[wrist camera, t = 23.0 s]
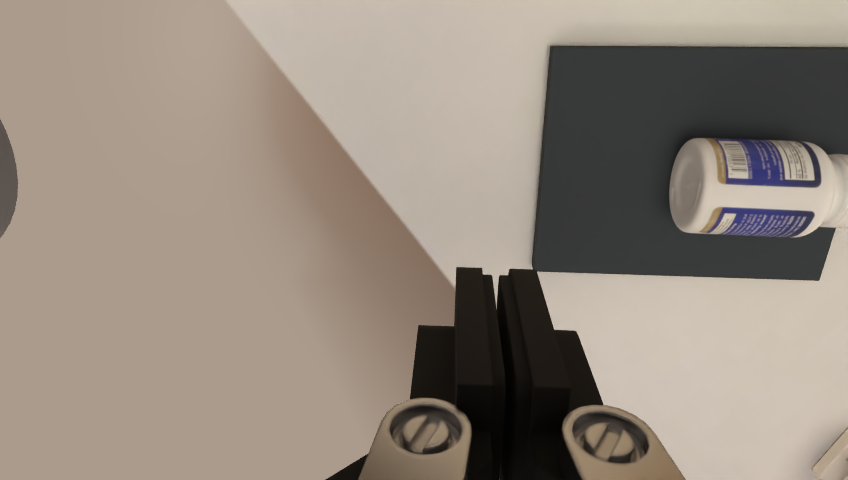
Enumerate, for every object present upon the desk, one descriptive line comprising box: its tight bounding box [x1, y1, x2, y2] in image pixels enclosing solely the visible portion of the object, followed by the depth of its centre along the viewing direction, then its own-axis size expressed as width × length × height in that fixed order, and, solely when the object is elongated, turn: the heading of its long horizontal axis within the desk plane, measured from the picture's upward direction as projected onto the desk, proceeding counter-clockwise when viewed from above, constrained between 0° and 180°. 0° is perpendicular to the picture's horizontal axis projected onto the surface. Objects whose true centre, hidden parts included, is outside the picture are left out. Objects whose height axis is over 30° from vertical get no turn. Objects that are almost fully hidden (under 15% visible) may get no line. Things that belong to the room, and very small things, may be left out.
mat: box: [532, 46, 848, 281], centre depth 34 cm, size 18×14×1 cm
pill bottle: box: [669, 138, 848, 237], centre depth 31 cm, size 5×5×9 cm
